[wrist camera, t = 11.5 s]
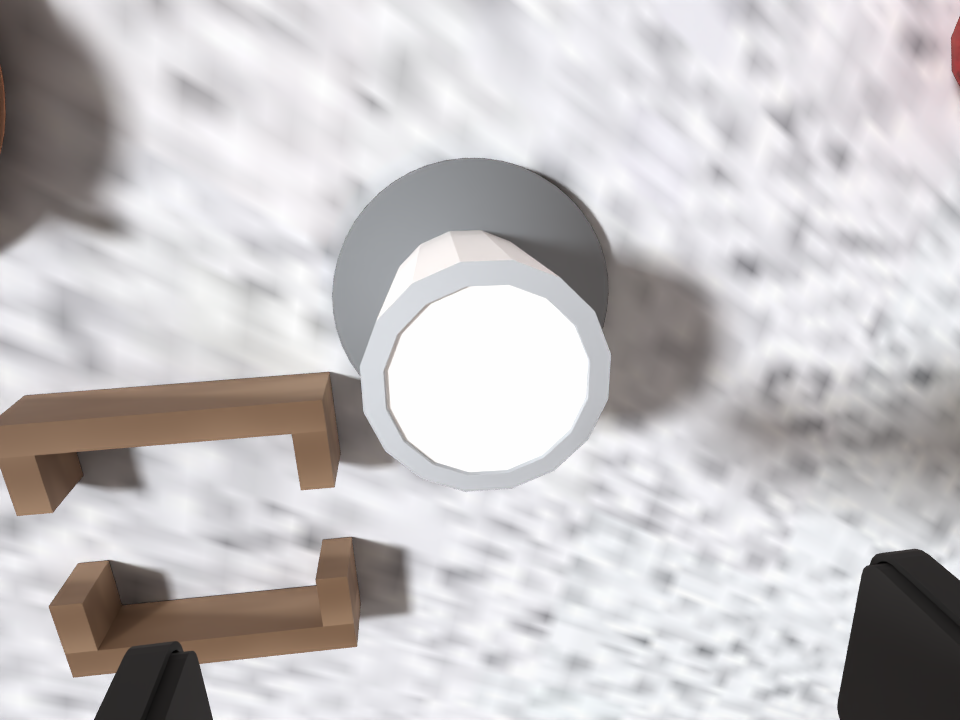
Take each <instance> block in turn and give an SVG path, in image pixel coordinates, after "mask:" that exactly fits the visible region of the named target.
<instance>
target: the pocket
mask: <svg viewBox="0 0 960 720" xmlns="http://www.w3.org/2000/svg"><path fill="white" fill-rule="evenodd" d="M284 434H292V438H293V444H294V451H295V457H296V463H297V469H298V475H299V481H300V487H301V490H310V489H321V488H332V487H335V482H336V476H337V470H338V464H339V459H340V446H339V439H338V431H337V424H336V416H335V409H334V402H333V394H332V387H331V379H330V372H322V373H309V374H296V375H283V376H271V377H258V378H245V379H232V380H219V381H206V382H193V383H180V384H167V385H154V386H141V387H129V388H116V389H103V390H90V391H77V392H64V393H51V394H38V395H25V396H23V397H22V398H21V399H20V400H18V401H17V402H16V403H15V404H14V405H12V406H11V407H10V408H9V409H7V410H6V411H5V412H4V413H2V414H1V415H0V469H1V471H2V474H3V477H4V480H5V483H6V486H7V489H8V492H9V494H10V497H11V500H12V503H13V506H14V509H15V512H16V515H17V516H22V515H33V514H44V513H53V512H54V511H55V509H56V508H57V507H58V506H59V505H60V503H61V502H62V501H63V500H64V498H65V497H66V496H67V495H68V494H69V492H70V491H71V490H72V489H73V488H74V486H75V485H76V484H77V483H78V481H79V480H80V479H81V478H82V477H83V473H82V469H81V466H80V462H79V459H78V456H77V452H82V451H94V450H105V449H117V448H129V447H141V446H153V445H165V444H177V443H189V442H201V441H212V440H224V439H236V438H248V437H260V436H272V435H284ZM360 606H361V602H360V595H359V587H358V580H357V572H356V565H355V557H354V550H353V543H352V537H347V538H337V539H327V540H323V541H322V547H321V552H320V558H319V563H318V569H317V574H316V586H308V587H298V588H288V589H278V590H269V591H259V592H249V593H239V594H229V595H219V596H209V597H200V598H190V599H180V600H170V601H160V602H150V603H140V604H131V605H122V603H121V600H120V597H119V593H118V590H117V587H116V583H115V580H114V577H113V573H112V570H111V566H110V563H109V561H98V562H88V563H78V564H77V566H76V567H75V569H74V570H73V572H72V573H71V574H70V576H69V577H68V579H67V580H66V582H65V583H64V585H63V586H62V588H61V589H60V591H59V592H58V594H57V595H56V596H55V598H54V599H53V601H52V602H51V604H50V605H49V609H50V612H51V615H52V618H53V621H54V624H55V626H56V629H57V632H58V635H59V638H60V641H61V644H62V646H63V649H64V652H65V655H66V658H67V661H68V664H69V667H70V669H71V672H72V675H73V678H74V677H83V676H92V675H101V674H111V673H116V672H117V670H118V667H119V665H120V663H121V661H122V659H123V657H124V655H125V653H126V652H127V650H128V649H129V648H131V647H132V646H139V645H147V644H155V643H163V642H171V641H178V642H179V643H180V644H181V646H182V648H183V651H184V652H186V651H194V652H195V653H196V654H197V657H198V661H199V664H203V663H212V662H221V661H230V660H239V659H249V658H258V657H267V656H276V655H285V654H295V653H304V652H313V651H322V650H331V649H341V648H350V647H357V642H358V630H359V618H360Z"/></svg>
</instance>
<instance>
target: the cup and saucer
mask: <svg viewBox="0 0 960 720" xmlns="http://www.w3.org/2000/svg"><path fill="white" fill-rule="evenodd" d="M5 116H6V109H5V90H4V83H3V75H2V70H1V66H0V153H1V149H2V143H3V138H4V131H5Z"/></svg>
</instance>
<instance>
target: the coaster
mask: <svg viewBox="0 0 960 720" xmlns="http://www.w3.org/2000/svg"><path fill="white" fill-rule="evenodd" d="M470 230H482V231H484V232H487V233H490V234H492V235H495V236H497V237H500V238H503V239H505V240H508V241H510V242H512V243H513V244H514V245H516V246H517V247H519V248H520V249H521V250H523V251H524V252H525V253H527V254H528V255H530V256H531V257H532V258H534V259H535V260H537V261H538V262H539V263H541V264H542V265H543V266H545V267H546V268H548V269H549V270H550V271H552V272H553V273H555V274H556V275H557V276H559V277H560V278H561V279H562V280H563V281H564V282H565V283H566V284H567V285H568V286H569V287H570V288H572V289H573V290H574V291H575V292H576V293H577V294H578V295H579V296H580V297H581V298H582V299H583V300H584V301H585V302H586V303H587V304H588V305H589V306H590V307H591V308H592V309H593V310H594V311H595V313H596V316H597V318H598V321H599V324H600V326H601V329H602V328H603V324H604V320H605V316H606V311H607V302H608V275H607V269H606V264H605V258H604V255H603V252H602V249H601V246H600V243H599V241H598V238H597V236H596V234H595V232H594V230H593V228H592V226H591V225H590V223H589V222H588V220H587V219H586V217H585V216H584V214H583V213H582V211H581V210H580V209H579V208H578V207H577V206H576V204H575V203H574V202H573V201H572V200H571V199H570V198H569V197H568V196H567V195H566V194H565V193H563V192H562V191H561V190H560V189H559V188H557V187H556V186H555V185H553V184H552V183H550V182H549V181H547V180H546V179H544V178H542V177H541V176H539V175H538V174H536V173H534V172H531V171H529V170H527V169H525V168H523V167H520V166H517V165H514V164H510V163H507V162H504V161H498V160H492V159H485V158H461V159H452V160H445V161H441V162H437V163H434V164H430V165H427V166H424V167H422V168H419V169H417V170H414V171H412V172H410V173H408V174H406V175H405V176H403V177H401V178H399V179H398V180H396V181H394V182H393V183H391V184H390V185H389V186H388V187H386V188H385V189H384V190H383V191H381V192H380V193H379V194H378V195H377V196H376V197H375V198H374V199H373V200H372V201H371V202H370V203H369V204H368V205H367V206H366V207H365V208H364V210H363V211H362V212H361V214H360V215H359V216H358V218H357V219H356V221H355V222H354V224H353V225H352V227H351V229H350V231H349V233H348V235H347V237H346V238H345V241H344V244H343V246H342V249H341V252H340V254H339V257H338V260H337V265H336V269H335V274H334V280H333V292H332V299H333V314H334V319H335V324H336V329H337V332H338V335H339V338H340V341H341V344H342V347H343V348H344V350H345V352H346V354H347V356H348V358H349V360H350V362H351V364H352V365H353V367H354V368H355V369H356V371H357V372H358V374H359V375H360V364H361V362H362V359H363V356H364V353H365V350H366V348H367V345H368V342H369V339H370V337H371V334H372V331H373V328H374V326H375V323H376V320H377V318H378V316H379V313H380V311H381V309H382V306H383V304H384V301H385V299H386V297H387V294H388V292H389V290H390V287H391V285H392V283H393V280H394V278H395V276H396V273H397V271H398V268H399V266H400V265H401V264H402V263H403V262H404V261H405V260H406V259H407V258H408V257H409V256H410V255H411V254H412V253H413V252H414V251H415V249H416V248H417V247H418V246H419V245H420V244H422V243H424V242H426V241H429V240H431V239H433V238H435V237H437V236H440V235H442V234H444V233H446V232H449V231H470Z"/></svg>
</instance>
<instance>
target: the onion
mask: <svg viewBox="0 0 960 720" xmlns="http://www.w3.org/2000/svg"><path fill="white" fill-rule="evenodd" d="M951 56H952V72H953V74H954V76H955V78H956V80H957V82H958V84H959V86H960V17H959V19H958V22H957V24H956V27H955V29H954V32H953V34H952V37H951Z"/></svg>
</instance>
